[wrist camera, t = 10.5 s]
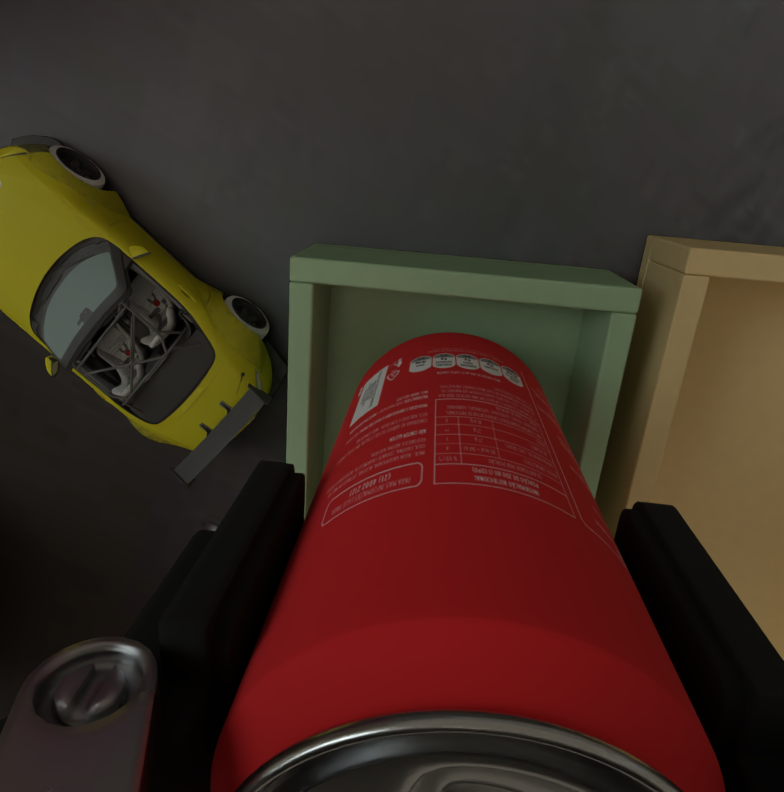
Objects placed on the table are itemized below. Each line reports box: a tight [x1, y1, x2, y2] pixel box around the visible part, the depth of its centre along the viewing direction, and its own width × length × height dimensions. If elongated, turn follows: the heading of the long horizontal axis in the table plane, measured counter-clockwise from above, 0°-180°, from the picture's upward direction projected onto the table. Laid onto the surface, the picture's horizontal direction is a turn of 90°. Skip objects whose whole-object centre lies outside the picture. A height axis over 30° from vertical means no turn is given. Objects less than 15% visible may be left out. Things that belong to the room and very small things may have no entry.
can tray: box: [286, 243, 643, 520], centre depth 17 cm, size 8×8×3 cm
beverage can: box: [210, 332, 726, 792], centre depth 11 cm, size 5×5×12 cm
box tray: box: [595, 235, 784, 660], centre depth 17 cm, size 14×8×3 cm, turn 175°
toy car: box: [0, 135, 288, 488], centre depth 16 cm, size 5×10×3 cm, turn 46°
